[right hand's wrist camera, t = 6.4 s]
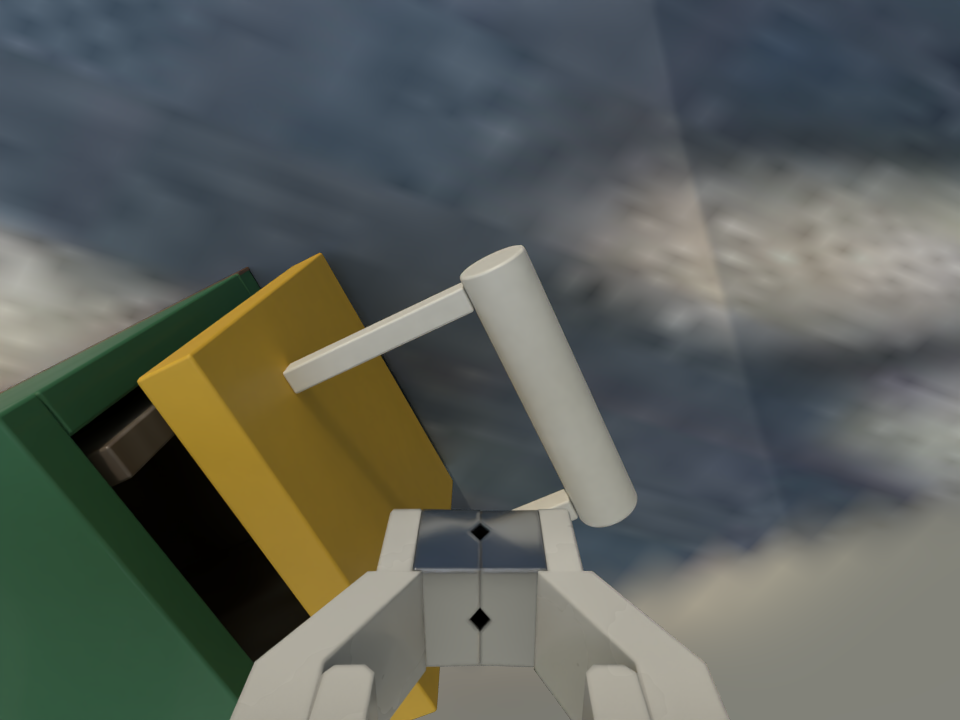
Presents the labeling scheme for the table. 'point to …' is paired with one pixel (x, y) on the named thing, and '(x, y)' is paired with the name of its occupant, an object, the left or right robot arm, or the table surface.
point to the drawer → (329, 442)
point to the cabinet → (101, 551)
